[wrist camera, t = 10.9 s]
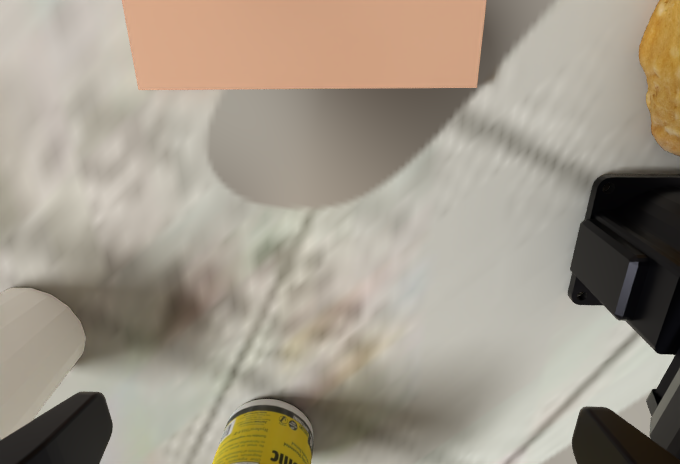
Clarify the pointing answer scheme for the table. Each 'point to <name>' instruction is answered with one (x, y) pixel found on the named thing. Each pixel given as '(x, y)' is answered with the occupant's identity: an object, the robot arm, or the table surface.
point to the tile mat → (305, 43)
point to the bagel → (663, 73)
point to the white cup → (33, 352)
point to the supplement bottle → (266, 435)
